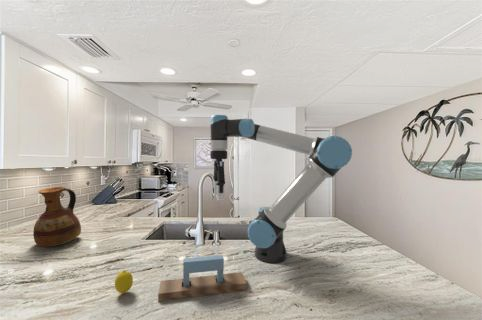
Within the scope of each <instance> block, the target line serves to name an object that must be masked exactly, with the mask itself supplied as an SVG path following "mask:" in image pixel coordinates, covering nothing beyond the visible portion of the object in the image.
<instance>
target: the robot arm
mask: <svg viewBox="0 0 482 320" xmlns="http://www.w3.org/2000/svg"><path fill="white" fill-rule="evenodd" d="M209 126H210V142H209V143H208V145H210V152H209V153H210V155H209V156H210V159H211V160H214V161H213V178H212V179H213V196H217V202H219V201H225V184H226V177H225V161H223V160H227V159H228V151H227V150H228V145H229V144H228V142H229V141H228V137H229V138H230V137H234V138H235V137H237V138H239V137H240V138H243V139H248V140H252V141H256V142H259V143H263V144H268V145H272V146H274V147H278V148H282V149H286V150H289V151H293V152H297V153H300V154H304V155H306V156H307V155H308V159H307V160H308V163H307V165H305V167H304V168H303V169H302V170H301V172H300V173H298V175H297V176H296V178H294V180H293V181H291V183H289V185H288V186H287V188H285V190H284V191H283V192H282V193H281V194H280V196H279V197H278V198H277V199H276V200H275V201H274V203H273V204H272V205H271V206H261V207H259V208H258V212H257V213H258V215H257V216H256V217H255V219H254V220H252V221H250V223H249V226H248V227H247V236H248V238H249V239H248V240H249V241H250V243H252V245H254V246H255V248H254V257H255V259H257V260H258V261H261V262H265V263H268V264H269V263H270V264H271V263H272V264H275V263H277V264H278V263H281V262H283V261H285V260H286V259H287V256H288V255H287V254H288V253H287V249H286V245H285V242H284V231H285V230H286V228H287V227H288V226H287V222H288V221H289V220H290V219H291V218H292V217H293V215H294V214H295V213H296V212H297V211H298V210H299V209H300V208H301V207H302V205H303V204H304V203H305V202H306V201H307V200H308V198H310V197H311V196H312V195H313V193H314V192H315V191H316V190H317V189H318V188H319V186H321V184H323V182H324V181H326V179H328V178H331V179H332V178H334V177H335V175H336V174H337V173H339V171H340V170H341V169H342V168H344V167H345V166H346V165H348V163H350V161H351V159H352V155H353V148H352V145H351V144H350V142H349V141H348V140H346V138H343V137H341V136H338V135H331V136H330V135H329V136H327V137H325V138H323V137H319V136H316V137H310V136H306V135H301V134H297V133H293V132H289V131H285V130H281V129H276V128H273V127H268V126H265V125H260V124H258V123H257V124H256V123H255V122H254V120H253V119H252V118H238V119H237V118H235V119H228V116H227V115H225V114H214V115H211V117H210V125H209Z"/></svg>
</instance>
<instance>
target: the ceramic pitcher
mask: <svg viewBox="0 0 482 320" xmlns="http://www.w3.org/2000/svg"><path fill="white" fill-rule="evenodd" d="M63 192H68V194H69V203H68V205H67V207H64V206H62V203H61V194H62V193H63ZM38 193H39V194H40V195H42V196H43V198H44V204H45V210H44V212H43V213H41V214H40V216H39V217H38V218H37V219H36V221H35V223H34V226H33V234H32V235H33V240H34V242H35V244H36V245H37V246H38V247H54V246H59V245H63V244H66V243H68V242H70V241H72V240H75V239H76V238H78V237H79V236H80V235H81V233H82V225H81V223H80V219H79V217H78V216H77V215H76V214H75V213H74V208H75V204H76V201H77V195H76V193H75V191H74V190H72V189H71V188H67V187H64V186H56V187H55V186H53V187H50V188H49V187H48V188H44V189H40V190H39V191H38Z"/></svg>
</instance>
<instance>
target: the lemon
mask: <svg viewBox="0 0 482 320" xmlns="http://www.w3.org/2000/svg"><path fill="white" fill-rule="evenodd" d="M133 280H134V279H133V275H132V273H131V272H130V271H128V270H122V271H121V272H119V273H118V274H117V275H116V277H115V280H114V287H115V290H116V292H117V293H120V294H123V295H124V294H126V293H127V292H129V291H130V290H131V288H132V286H133V284H134V283H133Z"/></svg>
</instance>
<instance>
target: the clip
mask: <svg viewBox="0 0 482 320" xmlns="http://www.w3.org/2000/svg"><path fill="white" fill-rule="evenodd" d="M182 260H183V263H182V265H183V270H182V271H183V278H182V279H183V287H187V286H189V278H190V274H194V273H206V272H214V271H215V272H216V275H217V283H221V282H223V274H224V268H225V267H224V266H225V264H224V263H225V261H224V260H225V259H224V255H221V254H220V255H211V256H200V257H198V256H196V257H188V258H183V259H182Z"/></svg>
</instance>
